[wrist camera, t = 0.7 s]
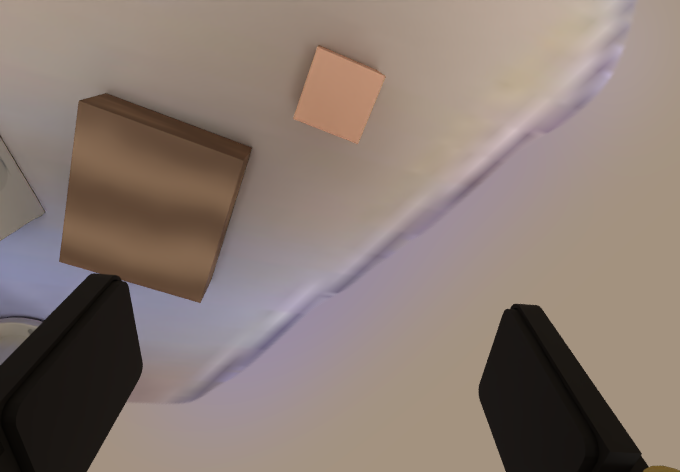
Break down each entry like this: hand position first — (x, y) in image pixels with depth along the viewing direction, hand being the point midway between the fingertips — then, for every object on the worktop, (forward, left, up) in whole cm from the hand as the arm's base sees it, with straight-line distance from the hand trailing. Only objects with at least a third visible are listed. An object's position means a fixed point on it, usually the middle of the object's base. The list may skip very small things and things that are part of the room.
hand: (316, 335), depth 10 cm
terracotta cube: (+3, 0, -27) cm, 27 cm away
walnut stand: (-11, +11, -27) cm, 31 cm away
